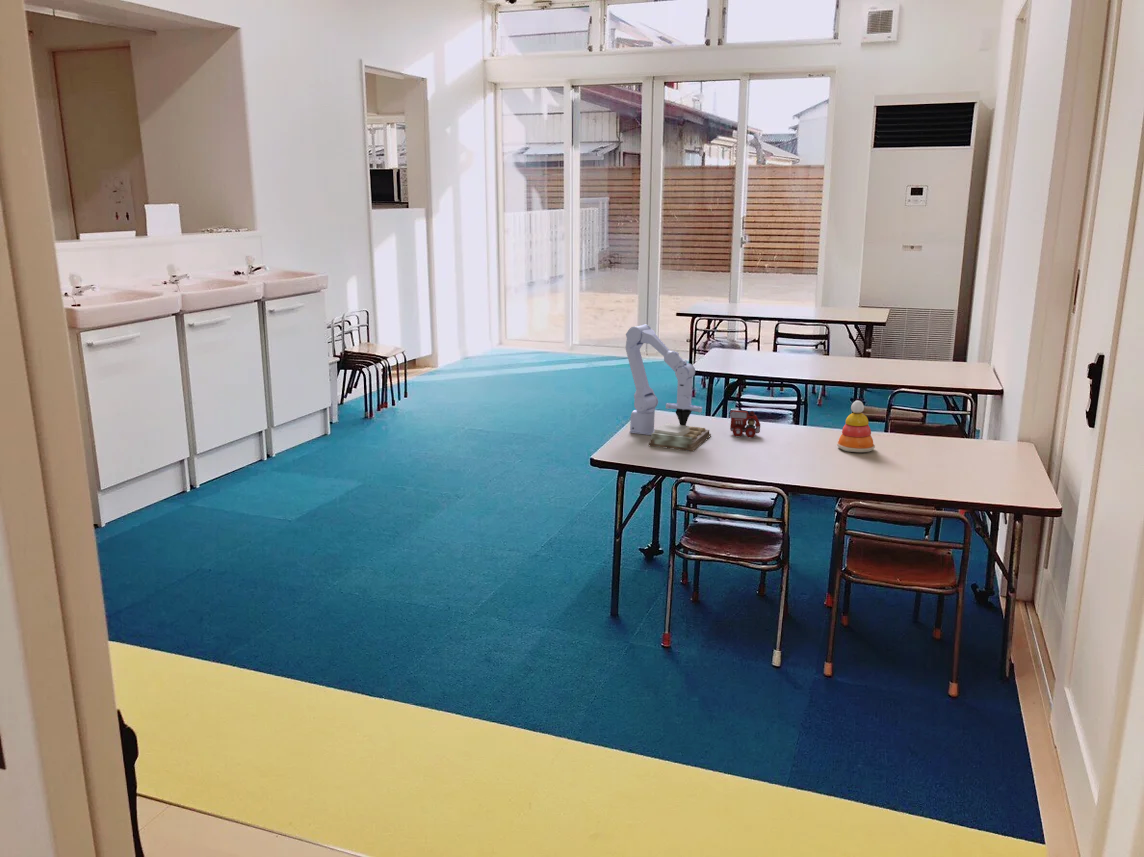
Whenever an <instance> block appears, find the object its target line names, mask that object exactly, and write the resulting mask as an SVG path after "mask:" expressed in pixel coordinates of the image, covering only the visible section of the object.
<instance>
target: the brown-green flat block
mask: <svg viewBox="0 0 1144 857" xmlns="http://www.w3.org/2000/svg"><path fill="white" fill-rule="evenodd" d="M650 436H651V437H650V438H651V439H650V442H648V446H649V445H650V446H649V447H655V446H660V447H659V448H663V447H667V448H666V449H670V448H674V449H673V450H678V449H680V451H686V450H689V452H694V451H695V450H696V449H698V448H699V447H700V446H701V445H702V444H704V443H705V442H704V441H705V440H706V439H707V438H708V437H709V436H710V437H712V434H711V433H710V429H706V427H700V426H699V427H698V426H690V430H689V433H687V434H685V435H684V436H677V435H668V434H660V433H652V435H650ZM710 437H709V438H710ZM709 438H708V439H709ZM708 439H707V440H708ZM707 440H706V441H707ZM701 443H702V444H701ZM700 444H701V445H700ZM699 445H700V446H699ZM698 446H699V447H698ZM697 447H698V448H697ZM693 450H694V451H693Z"/></svg>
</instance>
